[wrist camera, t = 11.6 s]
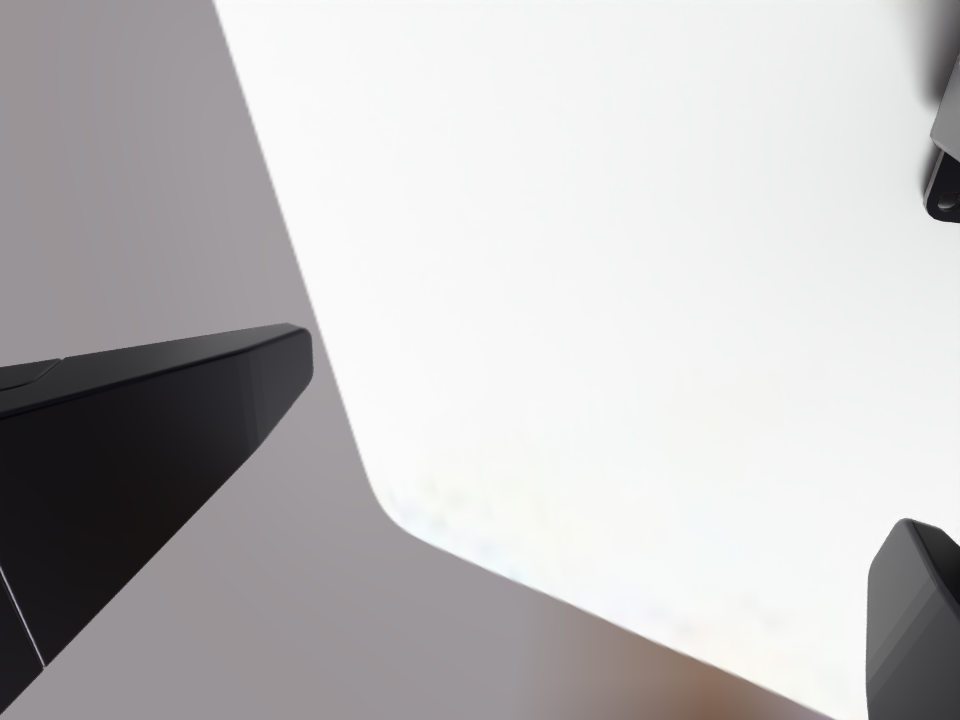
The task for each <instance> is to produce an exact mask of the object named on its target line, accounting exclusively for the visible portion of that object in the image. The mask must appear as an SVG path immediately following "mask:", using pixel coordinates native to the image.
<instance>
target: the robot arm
mask: <svg viewBox="0 0 960 720" xmlns="http://www.w3.org/2000/svg"><path fill="white" fill-rule="evenodd" d="M930 137H931V138H932V140H933V141H934V142H935V144H936V145H937V146H938V147H939V148H941V151H940V154H939V157H938V159H937V162H936V165H935V168H934V170H933V173H932V176H931V179H930V181H929V184H928V187H927V190H926V192H925V195H924V200H923V205H924V208H925V210H926V212H927V213H928V214H929V215H930V216H931V217H933V218H934V219H936V220H940V221H944V222H953V223H960V51H959V53H958V56H957V59H956V62H955V65H954V68H953V71H952V73H951V76H950V79H949V82H948V85H947V88H946V90H945V93H944V96H943V99H942V102H941V105H940V107H939V110H938V113H937V116H936V119H935V122H934V124H933V127H932V130H931V133H930ZM947 192H957V193H958V194H959V200H958V201H957V202H956V204H955V205H953V206H951V207H950V208H940V207H938V200H939V199H940V197H941V196H942V195H944V194H946V193H947ZM312 349H313V348H312V336H311V333H310V332H309V330H308V329H306V328H304V327H301V326H298V325H294V324H291V323H281V324H274V325H268V326H262V327H255V328H249V329H242V330H236V331H230V332H223V333H217V334H211V335H204V336H198V337H192V338H186V339H179V340H173V341H166V342H160V343H154V344H148V345H141V346H135V347H128V348H122V349H116V350H109V351H103V352H97V353H90V354H84V355H78V356H72V357H66V358H64V359H63V360H61V359H52V360H45V361H39V362H33V363H27V364H19V365H12V366H5V367H0V715H1V714H2V713H3V712H4V711H5V710H6V709H7V708H8V706H10V705H11V704H12V702H13V701H14V700H15V699H16V698H17V697H18V696H19V695H20V694H21V693H22V692H23V691H24V690H25V689H26V688H27V687H28V686H29V685H30V684H31V683H32V682H33V681H34V680H35V679H36V678H37V677H38V676H39V675H40V673H42V671H43V670H44V669H43V667H46V666H48V665H49V664H50V663H51V662H52V661H53V660H54V659H55V658H56V657H57V655H58V654H59V653H60V652H61V651H62V650H63V649H64V648H65V647H66V646H67V645H68V644H69V643H70V642H71V641H72V640H73V639H74V638H75V637H76V636H77V635H78V634H79V633H80V632H81V631H82V630H83V628H85V627H86V626H87V625H88V623H89V622H90V621H91V620H92V619H93V618H94V617H95V616H96V615H97V614H98V613H99V612H100V611H101V610H102V609H103V608H104V607H105V606H106V605H107V604H108V603H109V602H110V601H111V600H112V599H113V598H114V597H115V595H117V593H119V592H120V590H121V589H122V588H123V587H124V586H125V585H126V584H127V583H128V582H129V581H130V580H131V579H132V578H133V577H134V576H135V575H136V574H137V573H138V572H139V571H140V570H141V569H142V568H143V567H144V566H145V565H146V564H147V563H148V561H150V559H151V558H152V557H153V556H154V555H155V554H156V553H157V552H158V551H159V550H160V549H161V548H162V547H163V546H164V545H165V544H166V543H167V542H168V541H169V540H170V539H171V538H172V537H173V536H174V535H175V534H176V533H177V532H178V530H180V529H181V528H182V526H183V525H184V524H185V523H186V522H187V521H188V520H189V519H190V518H191V517H192V516H193V515H194V514H195V513H196V512H197V511H198V510H199V509H200V508H201V507H202V506H203V505H204V504H205V503H206V502H207V501H208V500H209V499H210V497H212V496H213V494H215V492H216V491H217V490H218V489H219V488H220V487H221V486H222V485H223V484H224V483H225V482H226V481H227V480H228V479H229V478H230V477H231V476H232V475H233V474H234V473H235V472H236V471H237V470H238V468H240V467H241V465H243V463H244V462H245V461H246V460H247V459H248V458H249V457H250V456H251V455H252V454H253V453H254V452H255V451H256V450H257V449H258V448H259V446H260V445H261V444H262V443H263V442H264V440H265V439H266V438H267V437H268V436H269V434H270V433H271V432H272V431H273V429H274V428H275V427H276V426H277V424H278V423H279V422H280V420H281V419H282V418H283V417H284V415H285V414H286V413H287V412H288V410H289V409H290V408H291V407H292V405H293V404H294V403H295V401H296V400H297V399H298V397H299V396H300V395H301V394H302V393H303V391H304V390H305V389H306V387H307V386H308V385H309V383H310V381H311V379H312V376H313V369H314V367H313V350H312ZM866 697H867V709H868V718H869V720H960V546H959V545H958V544H956V543H955V542H954V541H953V540H952V539H951V538H950V537H949V536H948V535H947V534H946V533H945V532H944V531H943V530H942V529H940V528H938V527H936V526H932V525H929V524H926V523H923V522H919V521H916V520H913V519H910V518H904V519H901V520H900V521H898V522H897V523H896V524H895V526H894V527H893V529H892V530H891V532H890V534H889V535H888V537H887V538H886V540H885V542H884V543H883V545H882V546H881V548H880V550H879V551H878V553H877V555H876V556H875V558H874V559H873V561H872V564H871V566H870V570H869V574H868V593H867V633H866Z"/></svg>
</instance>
